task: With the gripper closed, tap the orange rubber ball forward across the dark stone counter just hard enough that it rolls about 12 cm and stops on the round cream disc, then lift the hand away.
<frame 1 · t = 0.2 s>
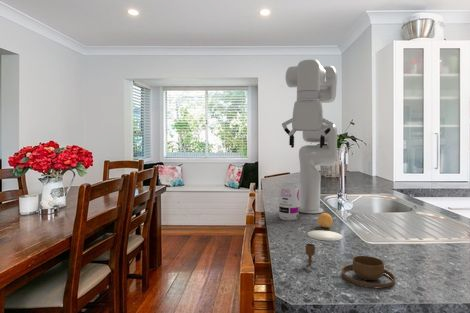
hand: (306, 147, 110), 31 cm above the worktop, tool pointing down, fingers open, 9 cm apart
ball: (325, 220, 124), on the worktop
supplement can: (288, 219, 137), on the worktop
place setting: (353, 275, 81), on the worktop
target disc: (324, 235, 112), on the worktop
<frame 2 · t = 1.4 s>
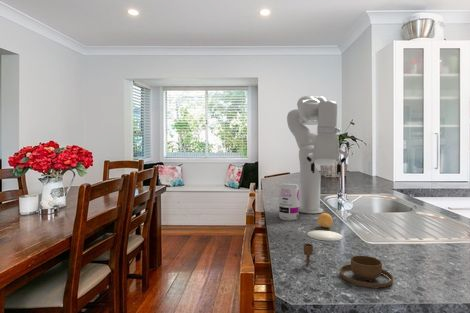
hand: (325, 173, 131), 20 cm above the worktop, tool pointing down, fingers open, 9 cm apart
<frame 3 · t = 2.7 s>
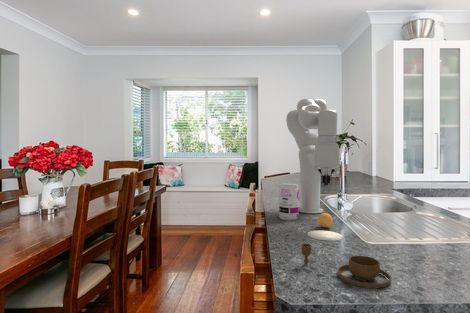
hand: (326, 184, 131), 15 cm above the worktop, tool pointing down, fingers closed
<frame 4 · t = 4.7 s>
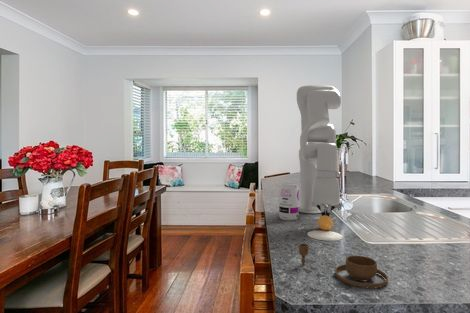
hand: (325, 222, 124), 2 cm above the worktop, tool pointing down, fingers closed
ball: (325, 222, 120), on the worktop
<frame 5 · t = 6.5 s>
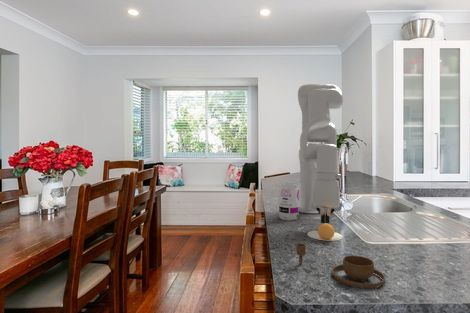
hand: (324, 225, 121), 2 cm above the worktop, tool pointing down, fingers closed
ball: (326, 231, 108), on the worktop
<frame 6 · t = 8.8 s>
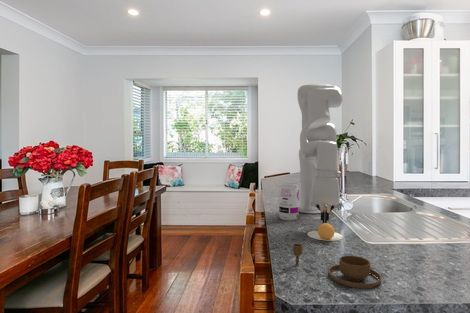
hand: (324, 222, 121), 3 cm above the worktop, tool pointing down, fingers closed
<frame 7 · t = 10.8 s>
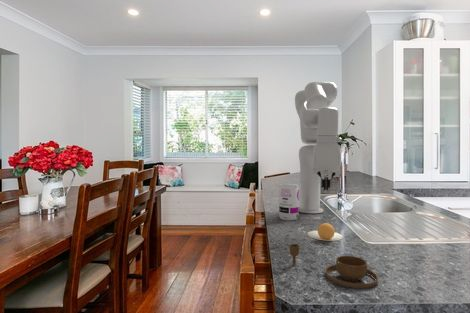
hand: (325, 189, 120), 15 cm above the worktop, tool pointing down, fingers closed
at the end: ball 4.7 cm from the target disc (horizontally); ball at rest at the end (0.0 cm/s); ball moved 16.7 cm from its start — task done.
